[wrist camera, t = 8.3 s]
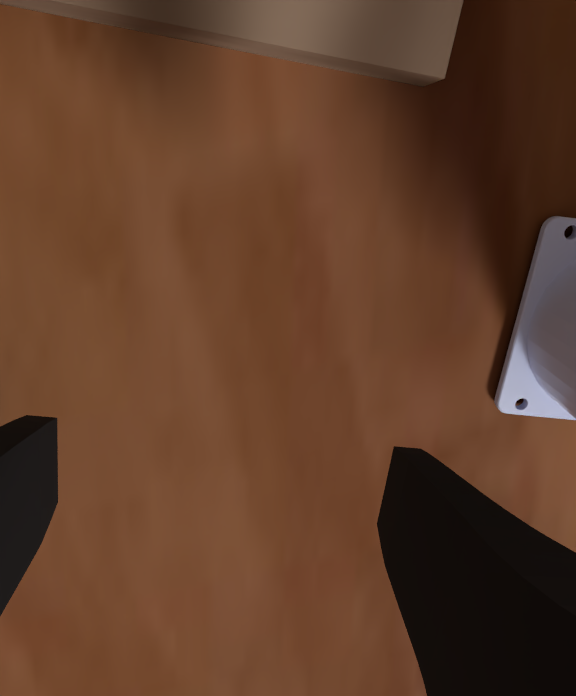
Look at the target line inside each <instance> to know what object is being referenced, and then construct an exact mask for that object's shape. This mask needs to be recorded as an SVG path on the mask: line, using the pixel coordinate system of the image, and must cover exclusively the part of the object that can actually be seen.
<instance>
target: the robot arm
mask: <svg viewBox="0 0 576 696" xmlns="http://www.w3.org/2000/svg"><path fill="white" fill-rule="evenodd" d="M569 226H572V228H573V232H572V234H571V235H570V236H569V237H568V238H566V237H565V236H564V231H565V230H566V228H567V227H569ZM522 398H524V401H523V402H522V404H520V405H518V406H515V403H516V401H517V400H519V399H522ZM494 403H495V405H496V407H497V408H498V409H499V410H500V411H501V412H503V413H506V414H517V415H527V416H538V417H548V418H559V419H569V420H576V218H569V217H561V216H552V217H550V218H548V219H547V220H546V221H545V222H544V223H543V225H542V227H541V230H540V233H539V237H538V241H537V244H536V248H535V252H534V255H533V259H532V263H531V266H530V270H529V274H528V277H527V281H526V285H525V288H524V292H523V296H522V300H521V303H520V307H519V311H518V314H517V318H516V322H515V325H514V329H513V333H512V336H511V340H510V344H509V347H508V351H507V355H506V359H505V362H504V366H503V370H502V373H501V377H500V381H499V384H498V388H497V392H496V395H495V402H494ZM57 503H58V459H57V418H53V417H41V416H29V415H26V416H23V417H21V418H18V419H16V420H14V421H11V422H9V423H7V424H5V425H3V426H1V427H0V616H1V614H2V612H3V610H4V609H5V607H6V605H7V603H8V602H9V600H10V598H11V596H12V595H13V593H14V591H15V589H16V588H17V586H18V584H19V582H20V581H21V579H22V577H23V575H24V574H25V572H26V570H27V568H28V567H29V565H30V563H31V561H32V559H33V558H34V556H35V554H36V552H37V550H38V549H39V547H40V545H41V543H42V541H43V538H44V536H45V533H46V531H47V529H48V526H49V524H50V521H51V518H52V516H53V513H54V511H55V508H56V505H57ZM377 527H378V532H379V538H380V543H381V549H382V554H383V558H384V563H385V567H386V570H387V573H388V576H389V579H390V582H391V585H392V588H393V591H394V594H395V597H396V600H397V603H398V606H399V609H400V612H401V614H402V617H403V620H404V623H405V626H406V629H407V632H408V635H409V638H410V640H411V643H412V646H413V649H414V652H415V655H416V658H417V661H418V664H419V667H420V671H421V674H422V677H423V681H424V684H425V688H426V693H427V696H576V553H575V552H573V551H572V550H570V549H568V548H566V547H565V546H563V545H561V544H559V543H558V542H556V541H554V540H552V539H551V538H549V537H547V536H545V535H544V534H542V533H540V532H539V531H537V530H536V529H534V528H532V527H531V526H529V525H528V524H526V523H525V522H523V521H522V520H520V519H519V518H517V517H516V516H514V515H513V514H511V513H510V512H508V511H507V510H505V509H504V508H502V507H501V506H499V505H498V504H497V503H495V502H494V501H492V500H491V499H490V498H488V497H487V496H485V495H484V494H483V493H481V492H480V491H479V490H477V489H476V488H475V487H473V486H472V485H471V484H469V483H468V482H467V481H465V480H464V479H463V478H461V477H460V476H459V475H457V474H456V473H455V472H453V471H452V470H451V469H449V468H448V467H447V466H445V465H444V464H443V463H441V462H440V461H439V460H437V459H436V458H434V457H433V456H432V455H430V454H429V453H427V452H425V451H424V450H422V449H417V448H406V447H394V449H393V453H392V458H391V463H390V467H389V472H388V476H387V481H386V485H385V490H384V495H383V499H382V504H381V508H380V513H379V517H378V522H377Z"/></svg>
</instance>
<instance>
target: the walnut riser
mask: <svg viewBox="0 0 576 696" xmlns="http://www.w3.org/2000/svg"><path fill="white" fill-rule="evenodd" d="M0 4H3V5H8V6H13V7H18V8H23V9H29V10H34V11H39V12H44V13H49V14H54V15H59V16H64V17H69V18H75V19H80V20H85V21H90V22H95V23H100V24H105V25H110V26H115V27H120V28H126V29H131V30H136V31H141V32H146V33H151V34H156V35H161V36H166V37H171V38H177V39H182V40H187V41H192V42H197V43H202V44H207V45H212V46H217V47H223V48H228V49H233V50H238V51H243V52H248V53H253V54H258V55H263V56H268V57H274V58H279V59H284V60H289V61H294V62H299V63H304V64H309V65H314V66H320V67H325V68H330V69H335V70H340V71H345V72H350V73H355V74H360V75H365V76H371V77H376V78H381V79H386V80H391V81H396V82H401V83H406V84H411V85H417V86H422V87H424V86H427V85H429V84H432V83H435V82H437V81H440V80H442V79H445V75H446V71H447V67H448V63H449V59H450V54H451V50H452V46H453V42H454V38H455V34H456V29H457V25H458V21H459V17H460V13H461V8H462V4H463V0H0Z"/></svg>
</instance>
